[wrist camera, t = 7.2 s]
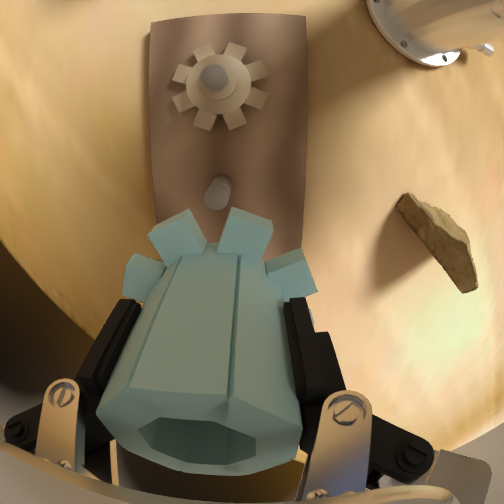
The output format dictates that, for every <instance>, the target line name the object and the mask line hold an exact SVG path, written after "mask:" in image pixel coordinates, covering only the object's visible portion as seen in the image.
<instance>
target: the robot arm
mask: <svg viewBox="0 0 504 504" xmlns="http://www.w3.org/2000/svg"><path fill="white" fill-rule="evenodd" d="M366 4H367V7H368V11H369V14H370V16H371V18H372V20H373V22H374V24H375V25H376V27H377V28H378V30H379V32H380V33H381V34H382V35H383V36H384V38H385V39H386V40H387V41H388V42H389V43H390V44H391V45H392V46H393V47H394V48H395V49H396V50H397V51H399V52H400V53H401V54H403V55H404V56H405V57H407V58H409V59H410V60H412V61H414V62H417V63H419V64H421V65H425V66H429V67H440V66H446V65H448V64H451V63H453V62H454V61H455V60H456V59H457V58H458V56H459V55H460V52H461V49H462V48H466V47H467V48H469V49H474V48H475V49H476V50H478V51H479V52H481V53H483V54H485V55H487V56H491V55H493V52H494V48H493V46H492V45H491V44H490V43H496V42H504V0H366ZM141 309H142V308H141V305H140V304H139V303H136V301H135V300H134V299H120V300H119V301H118V303H117V304H116V306H115V308H114V309H113V311H112V313H111V314H110V316H109V318H108V319H107V321H106V323H105V324H104V326H103V328H102V330H101V331H100V333H99V335H98V336H97V338H96V340H95V342H94V344H93V345H92V347H91V349H90V351H89V353H88V355H87V356H86V358H85V360H84V362H83V364H82V366H81V368H80V369H79V371H78V373H77V375H76V378H75V380H74V381H73V380H71V379H59V380H57V381H55V382H53V383H52V384H51V385H50V386H49V388H48V389H47V390H46V393H45V396H44V402H43V403H41V404H39V405H37V406H35V407H33V408H31V409H29V410H26V411H24V412H22V413H20V414H18V415H15V416H13V417H12V418H10V419H9V421H8V422H7V423H6V426H4V425H1V426H0V504H484V501H485V498H486V495H487V492H488V488H489V485H490V481H491V474H492V472H491V468H490V466H489V465H488V464H487V463H486V462H484V461H482V460H479V459H475V458H471V457H467V456H463V455H459V454H456V453H452V452H449V451H446V450H443V449H441V450H439V451H436V450H433V448H432V446H431V445H430V443H429V442H428V441H426V440H425V439H423V438H421V437H419V436H416V435H414V434H412V433H410V432H408V431H406V430H403V429H401V428H399V427H397V426H395V425H393V424H391V423H389V422H387V421H385V420H383V419H381V418H379V417H377V416H375V415H373V414H372V407H371V404H370V402H369V400H368V399H367V398H366V397H365V396H364V395H362V394H360V393H358V392H355V391H351V390H346V387H345V384H344V380H343V377H342V374H341V370H340V367H339V364H338V360H337V357H336V354H335V350H334V347H333V344H332V341H331V338H330V335H329V333H328V332H315V331H314V327H313V324H312V320H311V316H310V313H309V309H308V305H307V302H306V298H305V297H296V298H289V302H284V305H283V309H284V315H285V321H286V328H287V335H288V341H289V348H290V355H291V362H292V368H293V375H294V383H295V390H296V397H297V400H299V405H300V412H301V419H302V426H303V430H302V434H301V438H300V442H299V445H300V449H301V450H302V451H304V452H306V453H307V459H306V463H305V467H304V471H303V475H302V478H301V482H300V485H299V489H298V493H297V496H296V499H295V501H292V502H278V503H220V502H206V501H196V500H195V501H194V500H187V499H178V498H172V497H166V496H160V495H155V494H150V493H145V492H140V491H135V490H131V489H127V488H123V487H120V486H119V482H118V471H117V456H116V439H115V438H114V437H113V435H112V434H111V433H110V432H109V431H108V429H107V428H106V427H105V426H104V424H103V423H102V422H101V421H100V419H99V418H98V417H97V415H96V414H97V413H96V411H97V408H98V405H99V403H100V400H101V398H102V396H103V393H104V391H105V388H106V386H107V384H108V381H109V379H110V376H111V374H112V372H113V370H114V367H115V365H116V363H117V360H118V358H119V356H120V354H121V352H122V349H123V347H124V345H125V343H126V341H127V339H128V336H129V334H130V332H131V330H132V328H133V326H134V324H135V322H136V320H137V318H138V316H139V314H140V311H141ZM365 488H368V489H370V490H369V491H365Z"/></svg>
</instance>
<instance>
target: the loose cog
mask: <svg viewBox="0 0 504 504" xmlns="http://www.w3.org/2000/svg"><path fill="white" fill-rule="evenodd" d="M273 231H274V229H273V224H272V221H271V220H269V219H266V218H263V217H260V216H258V215H255V214H252V213H249V212H246V211H244V210H241V209H238V208H235V207H231V210H230V212H229V215H228V218H227V221H226V223H225V226H224V229H223V232H222V234H221V237H220V240H219V243H207V240H206V238H205V236H204V235H203V233H202V231H201V229H200V227H199V225H198V224H197V222H196V220H195V218H194V216H193V214H192V213H191V211H190V209H187V210H185V211H183V212H181V213H179V214H177V215H175V216H173V217H171V218H169V219H167V220H165V221H163V222H161V223H159V224H157V225H155V226H154V227H153V229H152V230H151V231H150V232H149V233H148V235H147V236H148V237H149V239H150V241H151V242H152V244H153V246H154V247H155V249H156V251H157V252H158V254H159V256H160V257H161V259H162V260H163V262H164V263H163V262H160V261H158V260H155V259H152V258H149V257H146V256H143V255H141V254H138V253H134V254H133V255H132V257H131V258H130V259H129V260H128V262H127V263H126V268H125V274H124V281H123V289H122V295H124V296H127V297H129V298H132V299H135V300H137V301H140V302H143V303H144V305H143V307H142V309H141V311H140V314H139V316H138V318H137V320H136V322H135V324H134V326H133V328H132V330H131V332H130V334H129V336H128V339H127V341H126V343H125V345H124V347H123V349H122V352H121V354H120V356H119V358H118V360H117V363H116V365H115V367H114V370H113V372H112V374H111V376H110V379H109V381H108V384H107V386H106V388H105V391H104V393H103V396H102V398H101V400H100V403H99V405H98V408H97V411H96V413H97V414H96V415H97V417H98V418H99V419H100V421H101V422H102V423H103V424H104V426H105V427H106V428H107V429H108V431H109V432H110V433H111V434H112V435H113V437H114V438H115V439H116V440H117V441H118V442H119V443H120V445H121V446H122V447H124V448H126V450H128V451H131V452H133V453H135V454H137V455H139V456H142V457H144V458H146V459H149V460H151V461H153V462H156V463H158V464H161V465H164V466H166V467H169V468H172V469H175V470H177V471H181V470H182V472H187V473H197V474H211V475H232V476H242V474H243V475H248V474H252V473H255V472H258V471H262V470H265V469H268V468H271V467H274V466H277V465H280V464H283V463H286V462H288V461H291V460H293V458H295V457H296V453H297V449H298V446H299V442H300V438H301V434H302V430H303V426H302V419H301V412H300V405H299V400H297V397H296V390H295V383H294V375H293V368H292V362H291V355H290V348H289V341H288V335H287V328H286V321H285V315H284V309H283V305H284V302H289V298H296V297H306V296H308V295H311V294H313V293H316V292H318V291H317V288H316V285H315V282H314V280H313V277H312V275H311V272H310V269H309V267H308V264H307V262H306V259H305V257H304V254H303V252H302V249H301V247H300V248H298V249H295V250H293V251H291V252H288V253H286V254H283V255H281V256H278V257H276V258H273V259H271V260H268V261H266V263H265V262H264V261H263V260H262V259H261V258H262V256H263V254H264V251H265V249H266V247H267V245H268V242H269V240H270V238H271V236H272V233H273ZM309 313H310V316H311V320H312V324H314V321H313V317H312V314H311V310H310V309H309Z"/></svg>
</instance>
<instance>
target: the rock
mask: <svg viewBox="0 0 504 504" xmlns="http://www.w3.org/2000/svg"><path fill="white" fill-rule="evenodd" d="M397 210H398V212H399V213H400V214H401V215H402V217H403V219H404V220H405V222H406V223H407V224H408V225H409V226H410V228H411V229H412V230H413V231H414V232H415V233H416V235H417V236H418V237H419V239H420V240H421V241H422V242H423V243H424V245H425V246H426V247H427V249H428V250H429V251H430V253H431V254H432V255H433V256H434V258H435V259H436V260H437V261H438V263H439V264H440V265H442V267H443V269H444V270H445V271H446V272H447V274H448V275H449V277H450V278H451V280H452V281H453V282H454V284H455V285H456V286H457V288H458V289H459V290H460V291H461V292H462V294H463V293H468V292H471V291H474V290H476V289H477V288H478V282H477V274H476V268H475V265H474V262H473V258H472V255H471V249H470V241H469V238H468V236H467V233H466V232H465V230H463V229H462V228H461V227H459V226H457V224H456V223H455V222H454V221H453V219H452V218H451V217H450V215H449V214H447V213H445V212H444V211H443V210H441V209H438V208H436V207H432V206H430V205H429V204H427V203H423V202H419V201H418V200H417V199H416V198H415V196H414V195H413V194H410V193H406V194H405V196H404V197H403V199H402V200H401V201H400V202H399V203H398V205H397Z"/></svg>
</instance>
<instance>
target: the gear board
mask: <svg viewBox="0 0 504 504" xmlns="http://www.w3.org/2000/svg"><path fill="white" fill-rule="evenodd" d="M149 128H150V149H151V164H152V177H153V189H154V199H155V209H156V218H157V224H159V223H161V222H163V221H165V220H167V219H169V218H171V217H173V216H175V215H177V214H179V213H181V212H183V211H185V210H187V209H190V211H191V213H192V214H193V216H194V218H195V220H196V222H197V224H198V225H199V227H200V229H201V231H202V233H203V235H204V236H205V238H206V240H207V243H219V240H220V237H221V234H222V232H223V229H224V226H225V223H226V221H227V218H228V215H229V212H230V210H231V207H235V208H238V209H241V210H244V211H246V212H249V213H252V214H255V215H258V216H260V217H263V218H266V219H269V220H271V221H272V224H273V229H274V231H273V233H272V236H271V238H270V240H269V242H268V245H267V247H266V249H265V251H264V254H263V256H262V258H261V259H262V260H263V261H264V262H265V263H266V261H268V260H271V259H273V258H276V257H278V256H281V255H283V254H286V253H288V252H291V251H293V250H295V249H298V248H300V247H301V241H302V226H303V210H304V192H305V169H306V139H307V43H306V16H298V15H286V14H265V13H234V14H214V15H202V16H192V17H184V18H176V19H170V20H163V21H158V22H152V23H151V29H150V48H149ZM162 262H163V260H162ZM163 263H164V262H163Z"/></svg>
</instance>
